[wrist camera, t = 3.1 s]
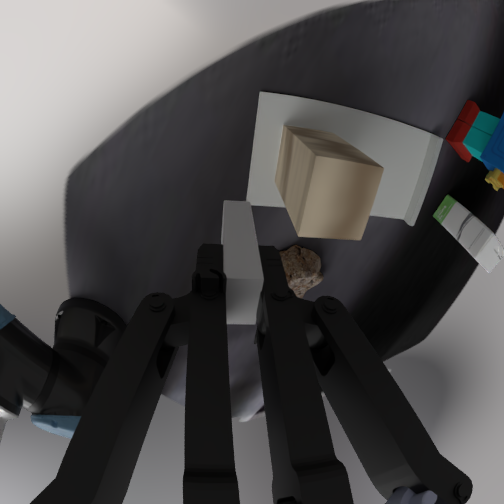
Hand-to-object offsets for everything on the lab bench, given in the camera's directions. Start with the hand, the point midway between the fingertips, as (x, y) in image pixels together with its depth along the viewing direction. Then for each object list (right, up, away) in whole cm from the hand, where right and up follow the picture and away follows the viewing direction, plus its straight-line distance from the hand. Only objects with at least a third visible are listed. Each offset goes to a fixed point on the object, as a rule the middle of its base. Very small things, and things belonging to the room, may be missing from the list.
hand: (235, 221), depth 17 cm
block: (+7, +9, +15) cm, 19 cm away
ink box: (+35, +5, +22) cm, 42 cm away
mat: (+13, +9, +16) cm, 23 cm away
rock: (+4, -6, +27) cm, 28 cm away
